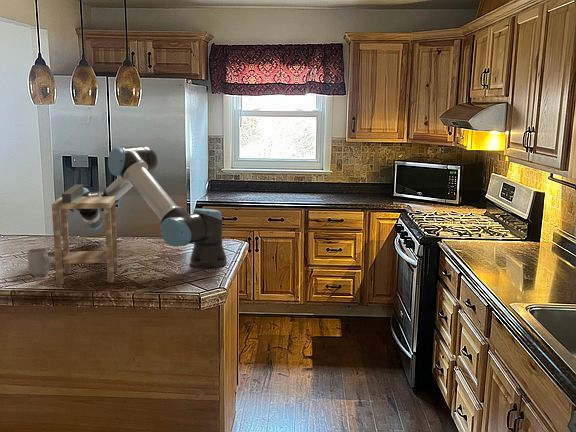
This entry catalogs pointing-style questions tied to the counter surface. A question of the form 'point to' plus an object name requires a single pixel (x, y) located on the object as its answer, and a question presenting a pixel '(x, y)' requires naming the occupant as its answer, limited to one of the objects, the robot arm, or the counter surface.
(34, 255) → the cup
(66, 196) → the grey square bar
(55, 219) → the stand
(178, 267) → the counter surface
